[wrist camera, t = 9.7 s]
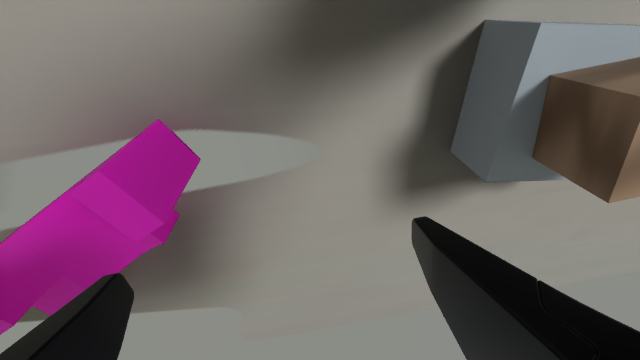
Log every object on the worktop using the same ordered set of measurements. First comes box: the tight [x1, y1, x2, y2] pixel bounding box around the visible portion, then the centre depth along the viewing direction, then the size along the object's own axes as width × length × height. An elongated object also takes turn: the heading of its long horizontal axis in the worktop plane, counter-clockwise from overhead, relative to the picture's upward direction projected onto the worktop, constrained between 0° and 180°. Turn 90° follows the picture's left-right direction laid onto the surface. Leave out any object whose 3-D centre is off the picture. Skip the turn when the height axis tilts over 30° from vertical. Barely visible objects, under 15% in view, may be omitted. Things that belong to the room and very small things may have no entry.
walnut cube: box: [532, 57, 640, 203], centre depth 15 cm, size 5×5×5 cm
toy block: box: [0, 119, 201, 335], centre depth 20 cm, size 15×6×8 cm, turn 124°
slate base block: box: [450, 20, 640, 182], centre depth 19 cm, size 9×9×5 cm
